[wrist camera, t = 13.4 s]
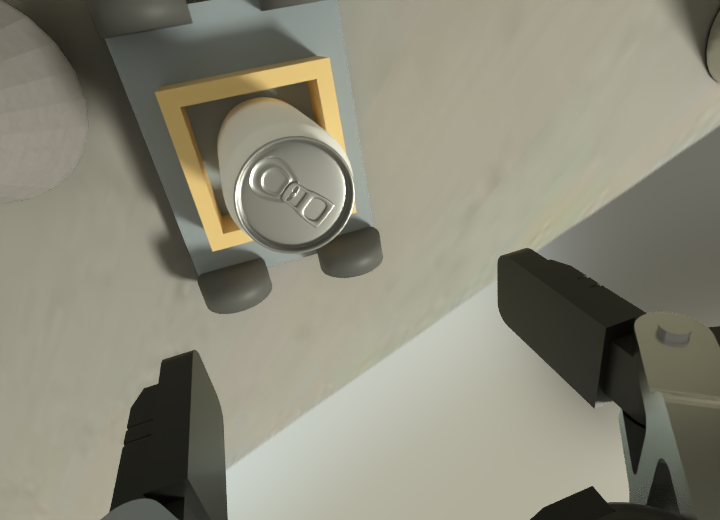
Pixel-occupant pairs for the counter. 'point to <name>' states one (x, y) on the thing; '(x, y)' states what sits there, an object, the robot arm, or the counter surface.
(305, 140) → the can
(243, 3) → the chassis
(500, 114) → the counter surface
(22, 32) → the coffee pot
